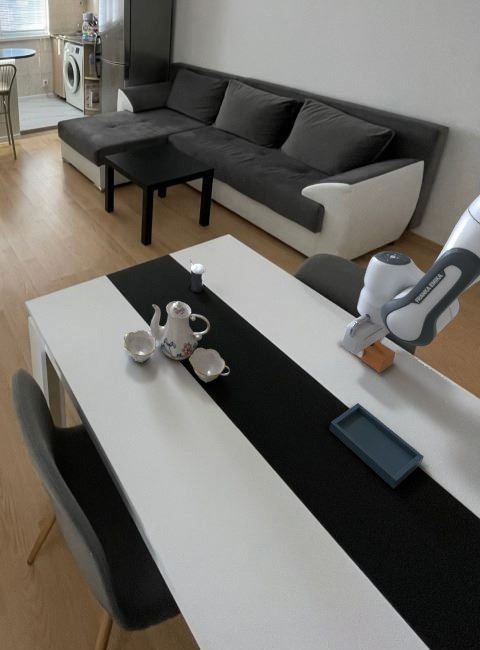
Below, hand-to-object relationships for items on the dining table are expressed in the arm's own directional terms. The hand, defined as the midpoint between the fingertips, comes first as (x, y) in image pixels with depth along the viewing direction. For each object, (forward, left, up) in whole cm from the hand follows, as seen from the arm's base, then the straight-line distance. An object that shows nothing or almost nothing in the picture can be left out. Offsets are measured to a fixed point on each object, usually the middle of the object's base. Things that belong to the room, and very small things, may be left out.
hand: (367, 349), depth 113 cm
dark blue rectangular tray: (+18, +20, -2) cm, 27 cm away
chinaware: (+49, -13, -2) cm, 51 cm away
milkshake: (+31, -36, -2) cm, 48 cm away
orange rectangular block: (0, 0, -2) cm, 2 cm away
